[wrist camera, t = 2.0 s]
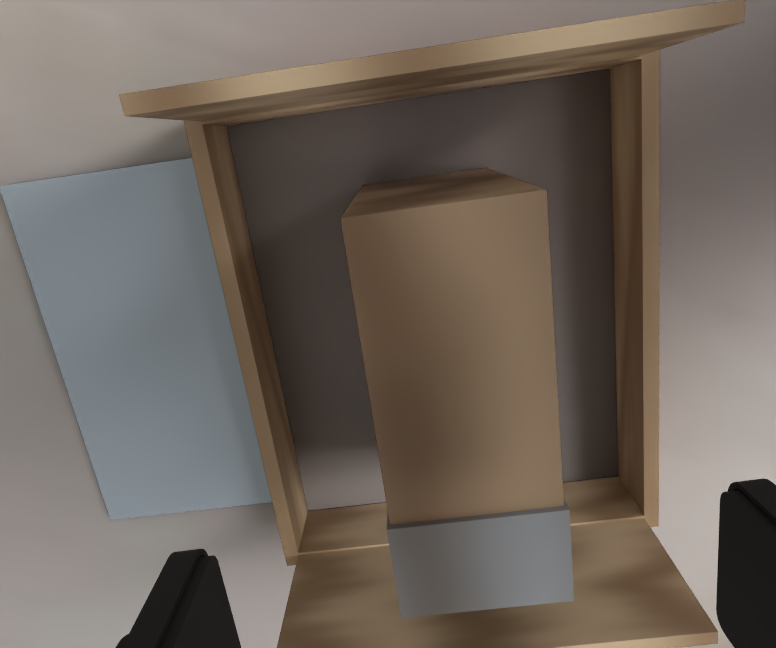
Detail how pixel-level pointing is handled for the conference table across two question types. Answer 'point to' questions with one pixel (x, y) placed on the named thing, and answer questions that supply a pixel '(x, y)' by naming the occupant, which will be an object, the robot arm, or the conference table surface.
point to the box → (463, 388)
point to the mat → (142, 336)
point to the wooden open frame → (632, 324)
